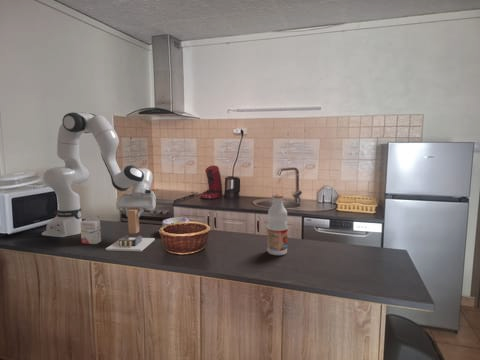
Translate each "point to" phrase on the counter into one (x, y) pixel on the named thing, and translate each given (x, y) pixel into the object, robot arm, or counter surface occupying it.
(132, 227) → the tall tan rectangular block
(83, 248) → the counter surface
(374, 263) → the counter surface
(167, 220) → the paper bowls
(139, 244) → the cartridge dock
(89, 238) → the ink cartridge box
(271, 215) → the fruit juice
